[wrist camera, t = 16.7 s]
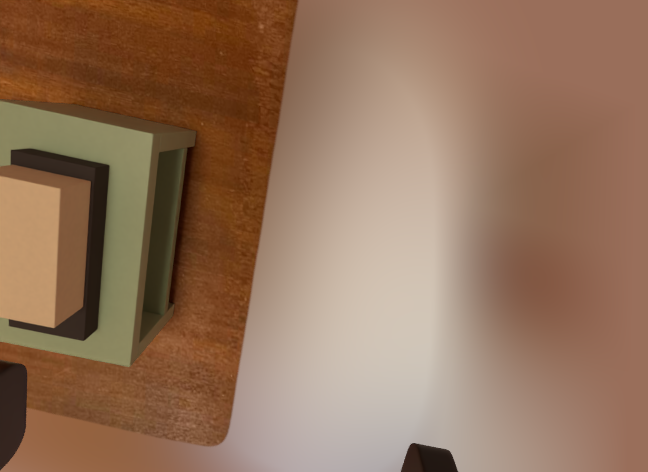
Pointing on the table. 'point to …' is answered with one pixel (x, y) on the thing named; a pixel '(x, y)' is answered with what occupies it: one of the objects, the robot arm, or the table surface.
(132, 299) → the olive green lidded box
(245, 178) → the table surface
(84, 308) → the board eraser
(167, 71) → the table surface
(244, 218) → the table surface
